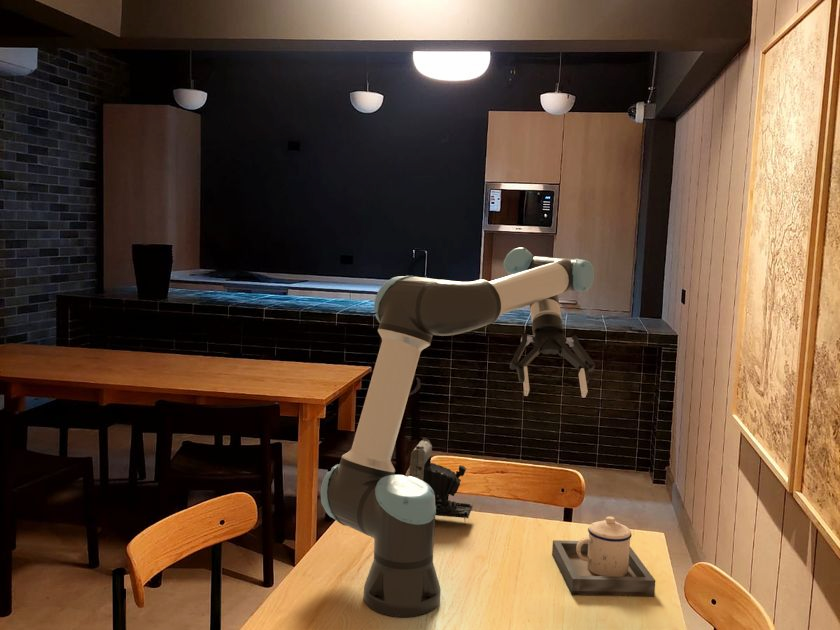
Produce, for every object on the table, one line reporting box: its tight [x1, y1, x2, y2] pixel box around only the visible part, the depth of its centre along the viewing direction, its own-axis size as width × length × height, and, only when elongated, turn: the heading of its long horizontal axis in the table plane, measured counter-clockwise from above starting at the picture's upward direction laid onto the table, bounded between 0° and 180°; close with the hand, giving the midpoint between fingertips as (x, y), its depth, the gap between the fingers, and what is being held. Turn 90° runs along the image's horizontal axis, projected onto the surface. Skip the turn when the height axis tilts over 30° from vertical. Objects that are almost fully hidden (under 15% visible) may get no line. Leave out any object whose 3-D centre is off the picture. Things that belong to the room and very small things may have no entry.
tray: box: [551, 539, 656, 598], centre depth 163 cm, size 17×19×4 cm
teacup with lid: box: [576, 516, 632, 577], centre depth 163 cm, size 12×9×12 cm
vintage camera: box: [408, 438, 474, 521], centre depth 188 cm, size 10×15×20 cm, turn 78°
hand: (555, 393), depth 176 cm, fingers open, 13 cm apart
